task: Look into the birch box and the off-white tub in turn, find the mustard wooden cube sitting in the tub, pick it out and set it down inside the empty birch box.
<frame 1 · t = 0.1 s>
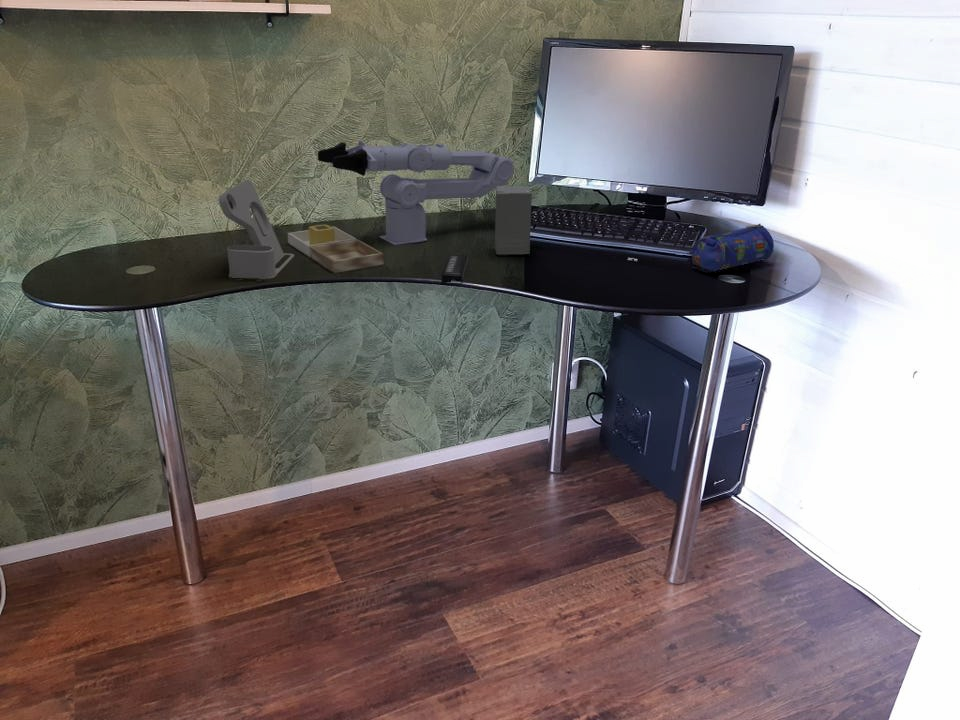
hand: (325, 159, 173), 22 cm above the table, tool horizontal, fingers open, 7 cm apart
white tub: (322, 248, 185), on the table
pencil case: (730, 268, 183), on the table
phone holder: (262, 268, 171), on the table
birch box: (347, 263, 176), on the table
multiport hub: (455, 275, 172), on the table
skincare box: (511, 254, 187), on the table
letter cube: (322, 246, 185), resting on white tub
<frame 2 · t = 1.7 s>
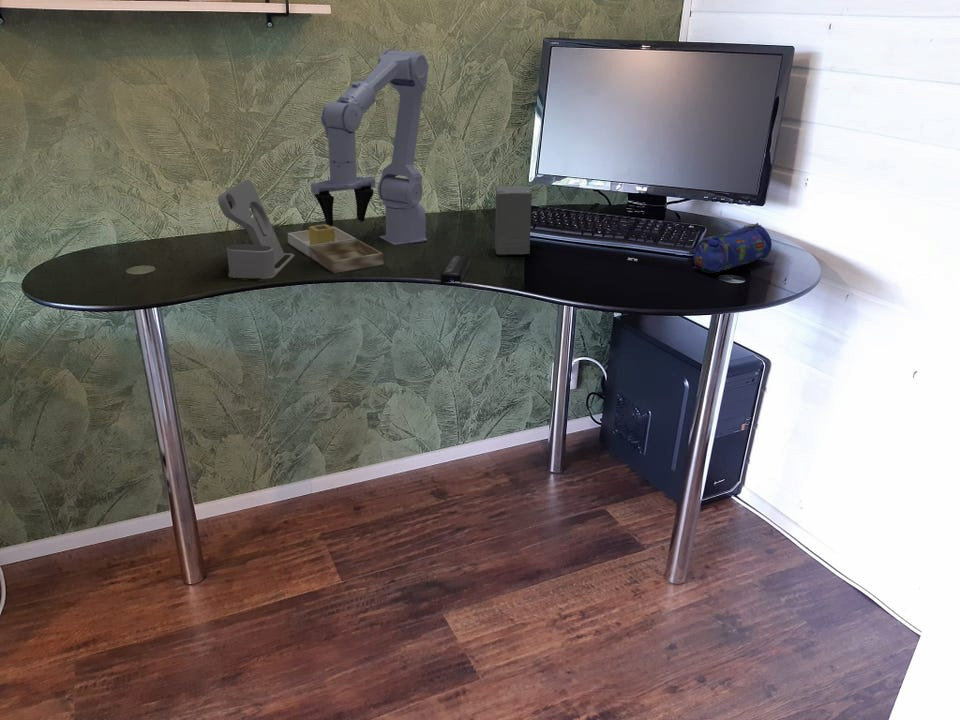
hand: (345, 222, 172), 9 cm above the table, tool pointing down, fingers open, 7 cm apart
nothing on the table moved.
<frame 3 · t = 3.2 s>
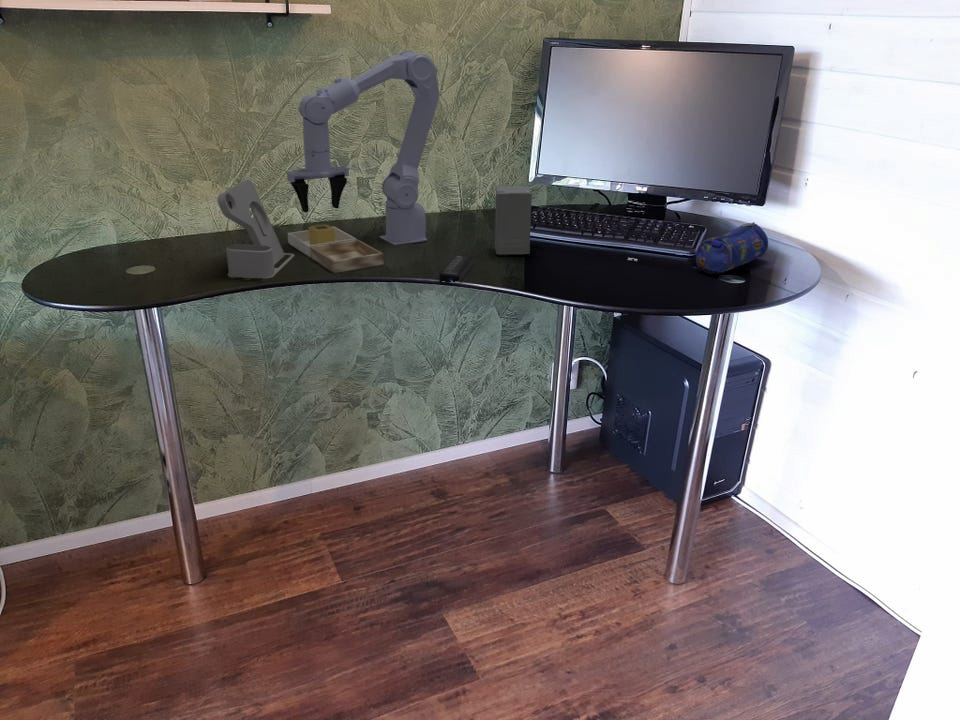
hand: (320, 209, 181), 9 cm above the table, tool pointing down, fingers open, 7 cm apart
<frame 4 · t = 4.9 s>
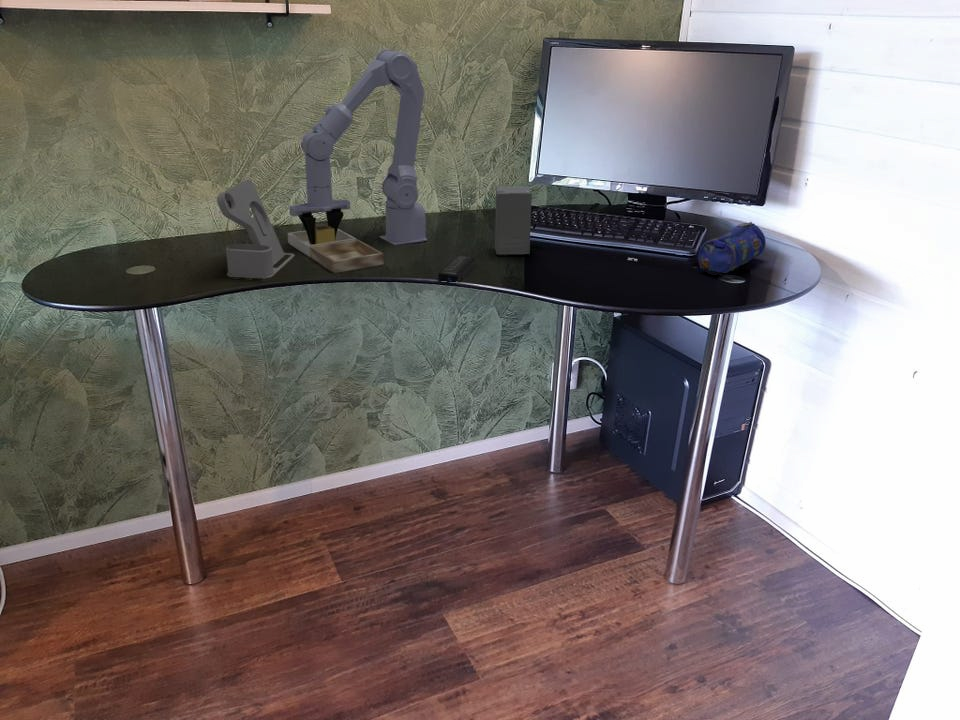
hand: (322, 242, 184), 2 cm above the table, tool pointing down, fingers closed on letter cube, 4 cm apart
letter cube: (322, 246, 185), resting on white tub, touching gripper
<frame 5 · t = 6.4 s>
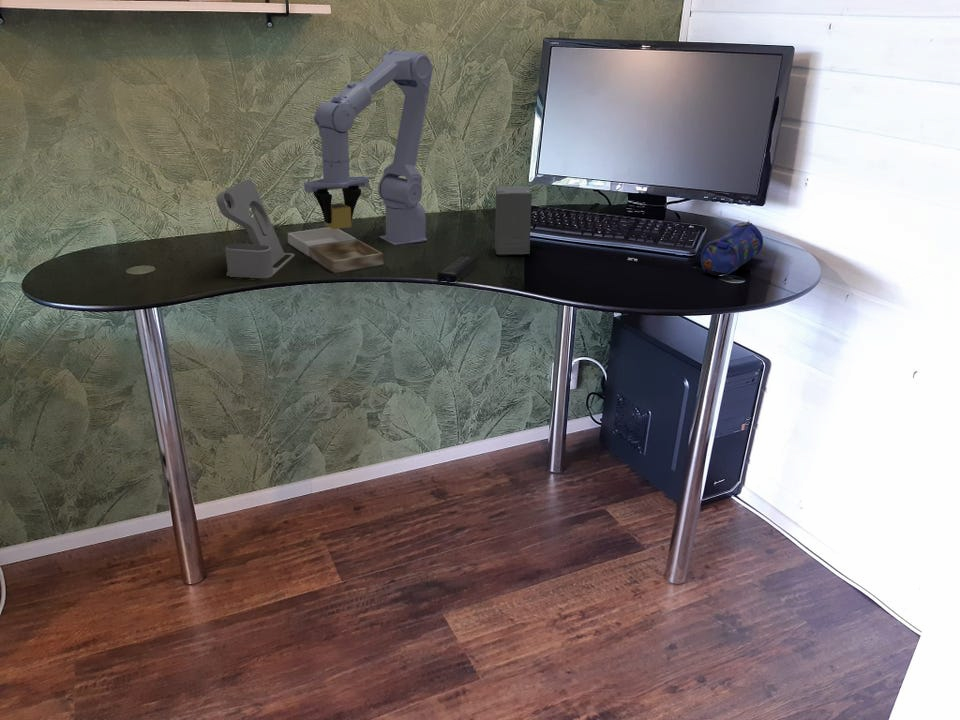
hand: (338, 221, 174), 9 cm above the table, tool pointing down, fingers closed on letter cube, 4 cm apart
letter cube: (338, 225, 175), point 8 cm above the table, touching gripper
when the fingers open (3 cm above the table, at t = 8.0 s): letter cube drops 1 cm, resting on birch box.
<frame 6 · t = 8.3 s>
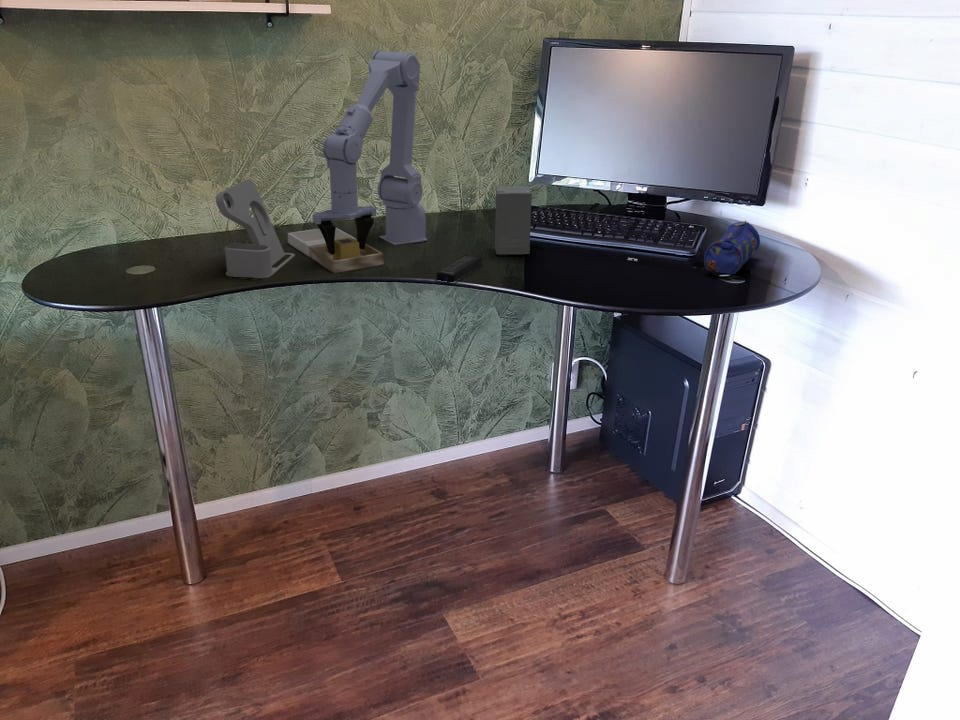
hand: (346, 250, 174), 3 cm above the table, tool pointing down, fingers open, 7 cm apart
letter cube: (346, 260, 176), resting on birch box
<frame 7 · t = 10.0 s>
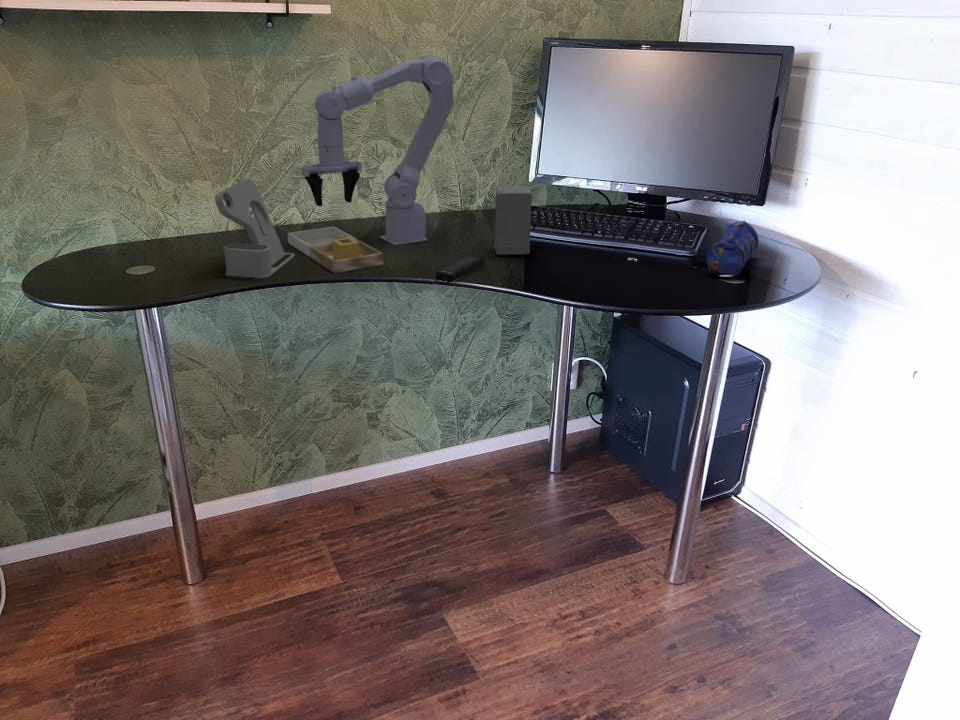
hand: (333, 203, 184), 10 cm above the table, tool pointing down, fingers open, 7 cm apart
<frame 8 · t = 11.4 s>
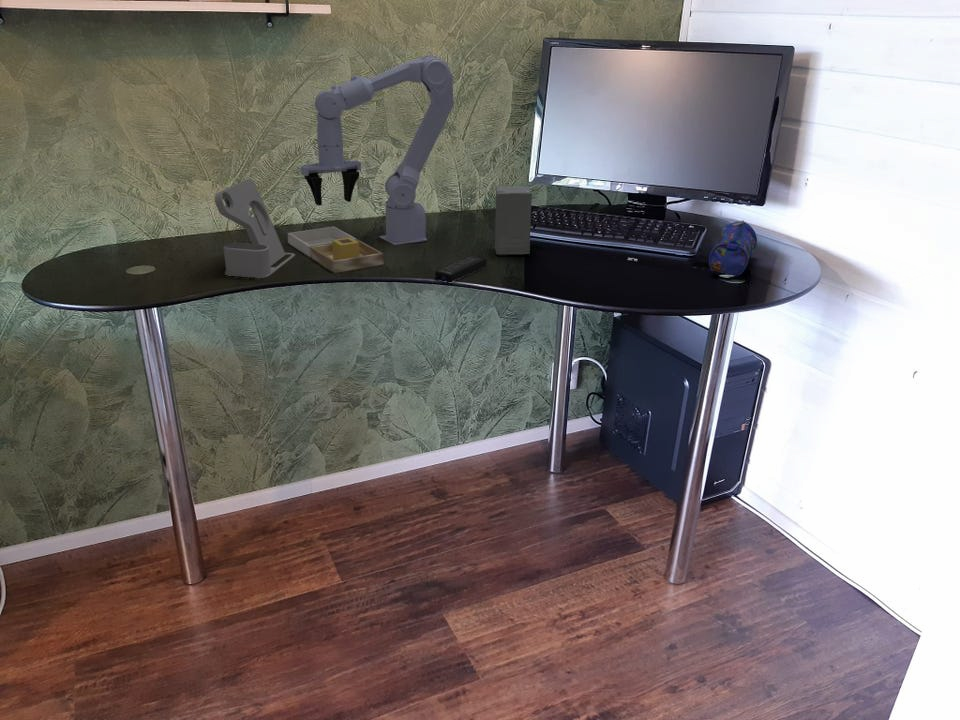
hand: (333, 202, 185), 10 cm above the table, tool pointing down, fingers open, 7 cm apart
at the end: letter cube inside the target area on the birch box (0.3 cm from its centre), point 0.5 cm above the birch box's base; the gripper is holding nothing; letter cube tilted 0° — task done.
